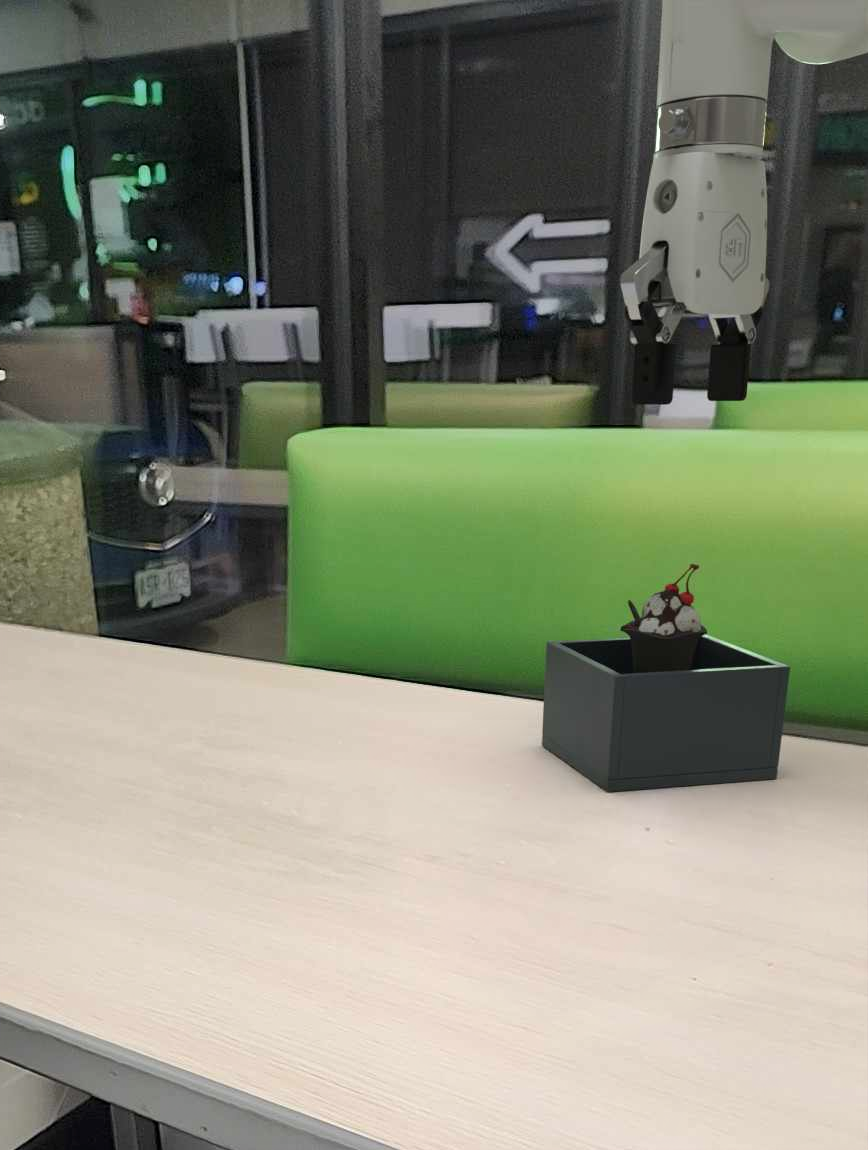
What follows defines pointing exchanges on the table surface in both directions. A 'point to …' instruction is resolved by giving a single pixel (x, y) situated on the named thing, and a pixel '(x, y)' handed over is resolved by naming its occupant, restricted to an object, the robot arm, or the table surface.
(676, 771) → the bin
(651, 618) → the sundae
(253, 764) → the table surface
